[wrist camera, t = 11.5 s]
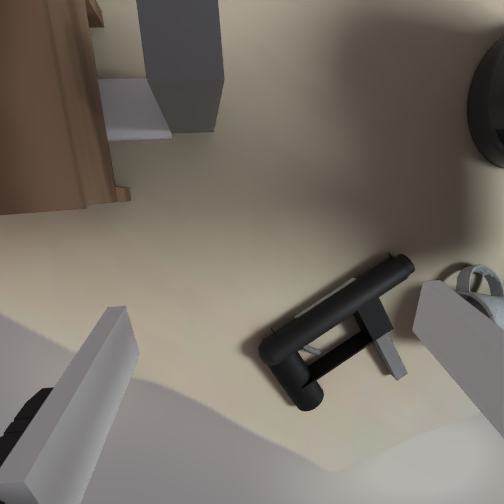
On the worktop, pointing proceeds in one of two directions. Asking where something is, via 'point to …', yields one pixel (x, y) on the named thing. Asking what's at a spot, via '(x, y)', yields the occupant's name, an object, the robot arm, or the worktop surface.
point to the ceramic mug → (495, 306)
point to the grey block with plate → (169, 74)
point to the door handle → (328, 316)
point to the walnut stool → (52, 109)
